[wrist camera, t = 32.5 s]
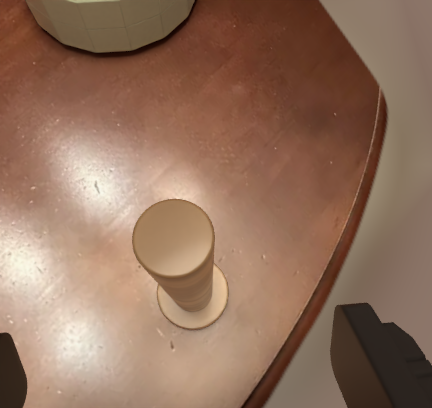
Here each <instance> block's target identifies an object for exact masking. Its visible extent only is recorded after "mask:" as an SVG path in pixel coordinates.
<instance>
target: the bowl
mask: <svg viewBox="0 0 432 408" xmlns="http://www.w3.org/2000/svg"><path fill="white" fill-rule="evenodd" d="M25 1H26V3H27V4H28V6H29V8H30V10H31V12H32V14H33V16H34V17H35V19H36V21H37V23H38V25H39V26H41V27H42V28H43V29H44V30H46V31H47V32H48V33H50V34H51V35H52V36H54V37H55V38H56V39H57V40H59V41H60V42H61V43H63V44H66V45H70V46H73V47H77V48H80V49H84V50H88V51H91V52H95V53H100V52H117V51H131V50H135V49H137V48H140V47H142V46H145V45H147V44H150V43H152V42H155V41H157V40H160V39H162V38H164V37H166V36H167V35H168V34H169V33H170V32H171V31H173V30H174V29H175V28H176V27H177V26H178V25H179V24H180V23H181V22H183V21H184V20H185V19H186V18H187V17H188V15H189V13H190V10H191V8H192V6H193V3H194V1H195V0H25Z"/></svg>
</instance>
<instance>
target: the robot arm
mask: <svg viewBox="0 0 432 408" xmlns="http://www.w3.org/2000/svg"><path fill="white" fill-rule="evenodd" d="M330 355H331V363H332V368H333V371H334V375H335V378H336V380H337V383H338V385H339V388H340V390H341V392H342V395H343V397H344V400H345V402H346V405H347V407H348V408H432V365H431V364H430V362H429V361H428V360H426V358H425V355H424V354H423V352H422V351H421V349H420V348H419V347H418V345H417V343H416V342H415V341H414V339H413V338H412V337H411V336H410V335H409V334H407V333H406V332H405V331H403V330H402V329H401V328H399V327H398V326H397V325H396V324H394V323H393V322H392V323H381V321H380V319H379V318H378V316H377V315H376V313H375V312H374V310H373V309H372V307H371V306H370V305H369V304H368V303H358V304H345V305H337V306H336V307H335V311H334V320H333V330H332V339H331V348H330ZM26 395H27V378H26V374H25V371H24V369H23V366H22V363H21V361H20V358H19V355H18V352H17V350H16V347H15V344H14V342H13V339H12V337H11V335H10V334H9V333H0V408H23V405H24V403H25V399H26Z"/></svg>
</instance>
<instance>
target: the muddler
mask: <svg viewBox="0 0 432 408" xmlns="http://www.w3.org/2000/svg"><path fill="white" fill-rule="evenodd" d="M214 242H215V235H214V228H213V225H212V222H211V220H210V219H209V217H208V216H207V214H206V213H205V212H204V211H203V210H202V209H201V208H200V207H199V206H197V205H195V204H194V203H191V202H189V201H186V200H181V199H168V200H164V201H160V202H158V203H156V204H154V205H152V206H151V207H149V208H148V209H147V210H146V211H145V212H144V213H143V214H142V215H141V216H140V217H139V219H138V221H137V222H136V225H135V227H134V231H133V236H132V244H133V250H134V253H135V256H136V258H137V260H138V261H139V263H140V264H141V265H142V266H143V268H144V269H145V270H146V271H147V272H148V273H149V274H150V275H151V276H152V277H153V278H154V280H155V281H156V282H157V283H158V287H157V300H158V304H159V307H160V309H161V311H162V313H163V314H164V316H165V317H166V318H167V319H168V320H169V321H170V322H171V323H173V324H174V325H176V326H178V327H181V328H184V329H188V330H198V329H202V328H205V327H208V326H209V325H211V324H213V323H214V322H215V321H216V320H217V319H218V318H219V317H220V316H221V314H222V313H223V311H224V309H225V307H226V304H227V301H228V284H227V280H226V278H225V276H224V274H223V272H222V271H221V269H220V268H219V267H218V266H217V265H216V264H214Z"/></svg>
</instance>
